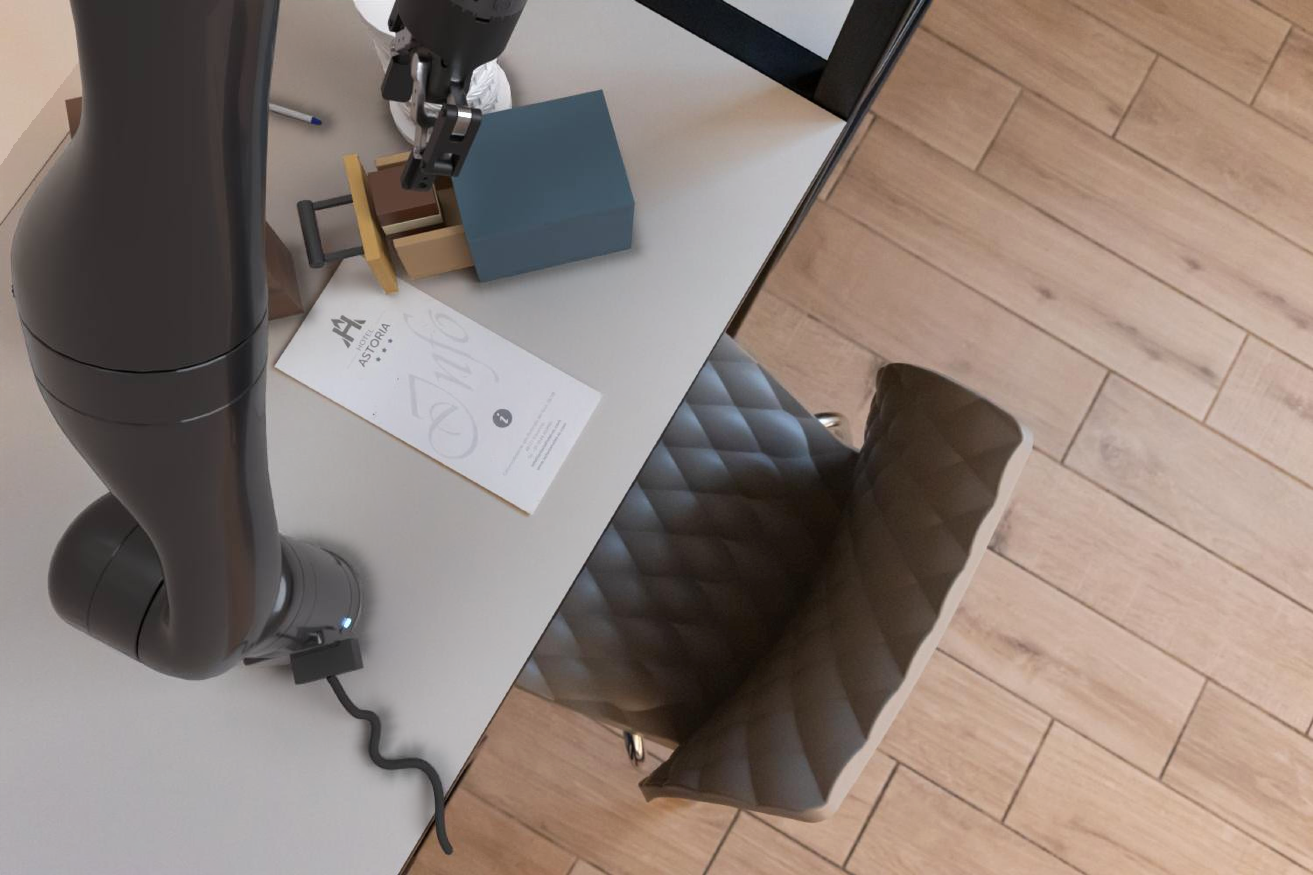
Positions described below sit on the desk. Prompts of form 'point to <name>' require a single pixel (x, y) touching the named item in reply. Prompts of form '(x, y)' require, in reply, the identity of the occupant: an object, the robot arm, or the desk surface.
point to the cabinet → (544, 187)
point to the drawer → (415, 251)
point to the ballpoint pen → (294, 114)
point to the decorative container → (484, 94)
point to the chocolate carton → (404, 206)
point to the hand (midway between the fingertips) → (403, 142)
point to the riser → (278, 257)
